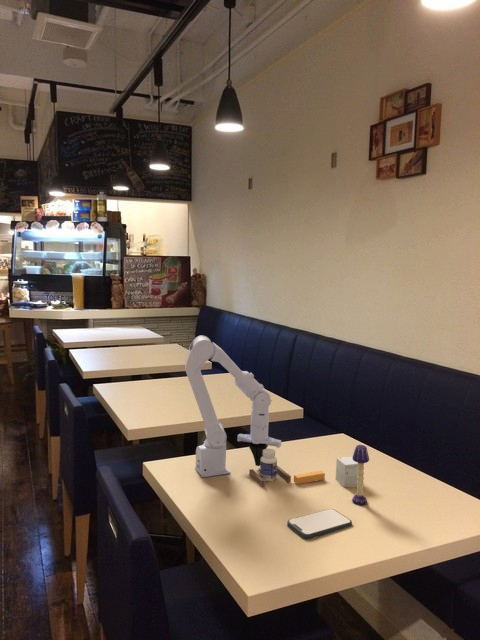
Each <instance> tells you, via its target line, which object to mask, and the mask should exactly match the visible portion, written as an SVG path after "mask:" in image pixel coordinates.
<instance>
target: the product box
mask: <svg viewBox="0 0 480 640" xmlns="http://www.w3.org/2000/svg"><path fill="white" fill-rule="evenodd" d="M335 466H336V467H335V481H337V482H338V483H339V484H340V485H341V486H342V487H343V488H351V487H357V486H358V485H357V481H358V480H357V476H358V474H357V472H358V462H355V461H354V460H353V456H342V457H336V465H335Z"/></svg>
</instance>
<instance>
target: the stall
mask: <svg viewBox="0 0 480 640" xmlns="http://www.w3.org/2000/svg"><path fill="white" fill-rule="evenodd" d="M248 471H249V472H248V476H249V477H250V478H251V479H252V480H253V481H254V482H255V483H257V485H258V486H259V487H260V488H265V487H266V480H264V479H263V478H261V477H260V474H259V473H257V472H256V470H254V469H253V468H252V469H249V470H248ZM277 476H278V477H280V478H281V479H282V480H283V481H285V482H286V483H287V484H288V483H291V482H292V477H291V475H290V474H289V473H288V472H286V471H285V470H284V469H283V468H281V466H279V465H277Z"/></svg>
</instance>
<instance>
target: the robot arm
mask: <svg viewBox="0 0 480 640" xmlns="http://www.w3.org/2000/svg"><path fill="white" fill-rule="evenodd" d="M209 360H210V361H212V362H217V363H219V364H220V365H221V366H222V367H223V368H224V369H225V370H226V371H228V373H229V374H230V375H231V376H232V377H234V385H235V386H236V387H237V388H238V389H239V390H240V391H241V392H242V393H243V394H244V395H245V396H246V397H247V398H249V399H250V401H252V402H251V411H250V433H249V434H248V433H247V434H246V433H244V434H243V433H239V434H237V442H247V443H249V447H248V448H249V450H250V451H251V454H252V456H253V460H254V463H255V465H254V466H257V467H260V459H261V457H262V456H263V450H264V449H268V447H269V446H271V447H276V448H277V449H279V448H281V447H282V440H281V439H277V438H273V437H270V436H269V418H270V417H269V416H270V412H269V411H270V410H269V409H270V408H269V407H270V406H271V402H272V399H271V396H270V394H269V393H268V391H267V390H266V389H265V387H264V385H263V384H262V383H260V382H258V380H257V379H255V375H254V374H253V372H249V371H248V370H245V371H244V370H241V369H240V367H239V366H238V365H237V364H236V363H235V362H234V360H232V359H231V358H230V356H229V355H228V354H227V353H226V352H225V351H224V350H223V349H222V348H221V347H220V346H219V345H217V344H216V343H215V342H213V341H211V339H210V338H209V337H208V336H206V335H198V336H196V337H195V338H194V339H193V341H192V342H191V343H190V345H189V346H188V353H187V356H186V359H185V364H184V369H185V373H186V377H187V379H188V382H189V385H190V387H191V389H192V393H193V394H194V398H195V401H196V404H197V406H198V410H199V412H200V415H201V418H202V421H203V424H204V433H205V437H206V438H205V440H204V441H203V444H201V445H198V446H196V447H195V448H196V449H195V466H194V469H195V471H197V473H198V474H199V475H200V476H201V477H202V478H206V477H214V476H219V475H220V476H221V475H226V474H231V471H230V470H229V469H228V468H227V466H226V465H227V464H226V462H227V438H228V437H227V433H226V431H225V429H224V425H223V423H222V422H221V421H220V420H219V419H218V417H217V413H216V411H215V408H214V405H213V403H212V400H211V397H210V393H209V392H208V389H207V386H206V383H205V380H204V377H203V374H202V371H201V370H202V369H203V366H204V365H205V363H206V362H208V361H209Z"/></svg>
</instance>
